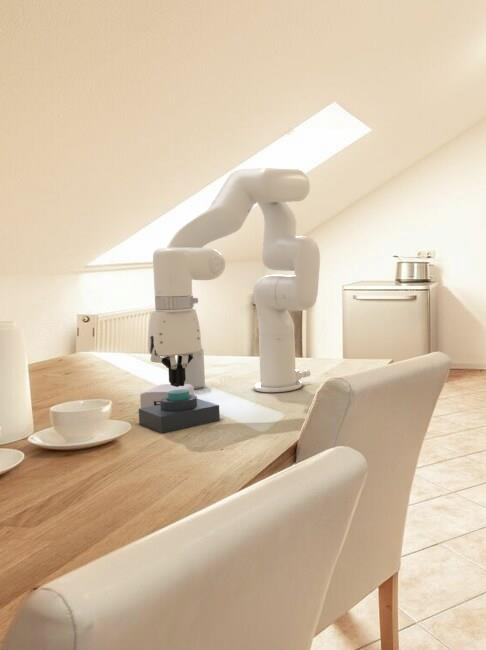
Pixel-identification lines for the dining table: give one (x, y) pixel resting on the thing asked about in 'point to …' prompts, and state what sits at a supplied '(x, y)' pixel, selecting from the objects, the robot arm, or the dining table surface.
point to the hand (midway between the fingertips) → (177, 385)
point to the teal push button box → (178, 414)
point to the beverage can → (196, 372)
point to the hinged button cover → (160, 394)
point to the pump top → (178, 395)
